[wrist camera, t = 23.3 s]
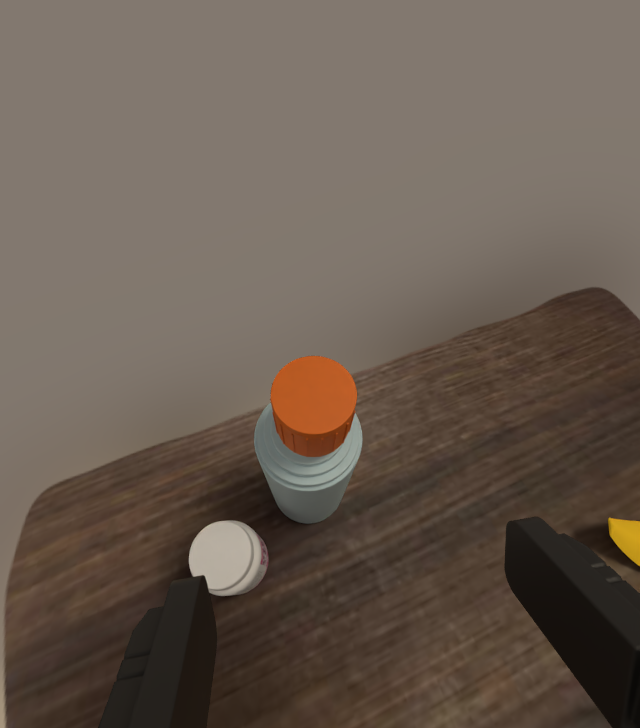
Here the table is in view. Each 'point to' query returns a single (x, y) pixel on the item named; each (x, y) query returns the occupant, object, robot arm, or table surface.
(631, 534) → the banana peel
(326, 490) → the water bottle
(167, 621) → the robot arm
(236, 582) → the pill bottle
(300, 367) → the cap
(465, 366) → the table surface
